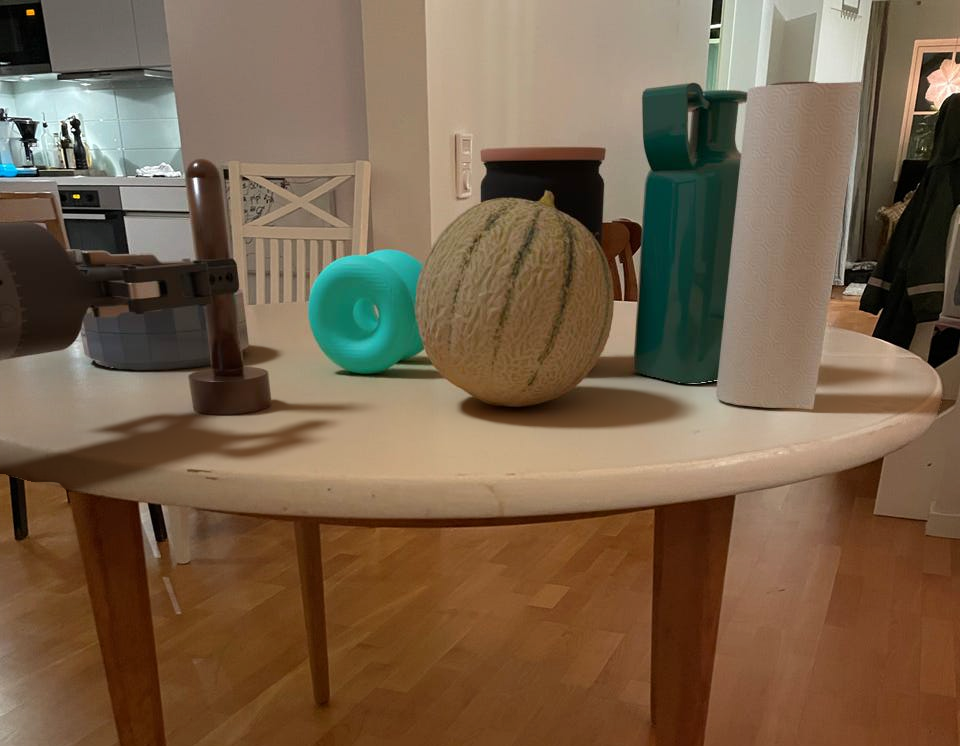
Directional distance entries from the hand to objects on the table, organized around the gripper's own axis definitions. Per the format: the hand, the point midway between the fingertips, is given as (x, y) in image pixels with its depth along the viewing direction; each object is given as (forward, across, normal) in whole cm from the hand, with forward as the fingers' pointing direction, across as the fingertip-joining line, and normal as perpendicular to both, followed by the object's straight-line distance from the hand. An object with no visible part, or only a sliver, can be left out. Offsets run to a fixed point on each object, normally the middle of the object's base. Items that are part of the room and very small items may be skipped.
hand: (192, 272), depth 66 cm
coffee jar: (+29, -12, +10) cm, 33 cm away
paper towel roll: (+24, -34, +10) cm, 43 cm away
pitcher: (+32, -25, +10) cm, 42 cm away
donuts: (+21, +1, +10) cm, 24 cm away
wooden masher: (+2, 0, +10) cm, 10 cm away
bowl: (+15, +22, +10) cm, 28 cm away
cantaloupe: (+14, -18, +10) cm, 25 cm away
